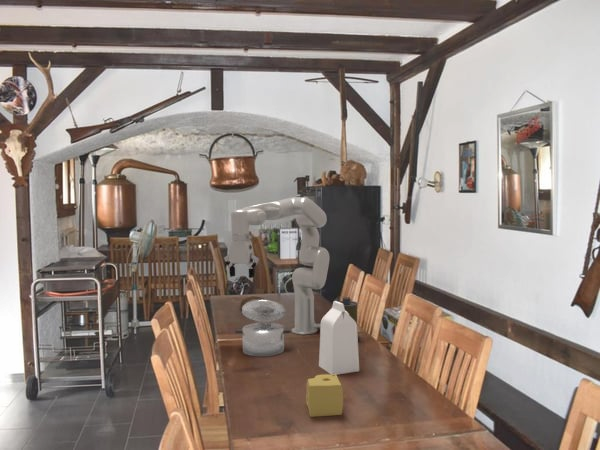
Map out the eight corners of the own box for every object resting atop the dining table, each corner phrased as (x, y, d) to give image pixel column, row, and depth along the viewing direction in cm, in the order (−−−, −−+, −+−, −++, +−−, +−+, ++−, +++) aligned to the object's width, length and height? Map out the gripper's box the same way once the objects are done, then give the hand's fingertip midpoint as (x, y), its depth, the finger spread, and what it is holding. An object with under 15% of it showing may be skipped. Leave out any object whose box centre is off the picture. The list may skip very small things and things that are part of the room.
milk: (318, 365, 214) (318, 301, 212) (344, 362, 218) (344, 298, 217) (332, 375, 203) (332, 307, 201) (359, 370, 207) (359, 304, 206)
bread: (261, 305, 330) (261, 291, 329) (278, 318, 295) (278, 303, 295) (236, 307, 324) (235, 293, 324) (250, 321, 290) (250, 305, 290)
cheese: (305, 404, 176) (305, 374, 175) (338, 403, 176) (338, 373, 176) (309, 417, 165) (308, 386, 165) (343, 416, 166) (343, 384, 165)
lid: (286, 322, 244) (286, 316, 246) (283, 301, 229) (284, 295, 231) (244, 322, 245) (245, 316, 247) (239, 301, 229) (239, 295, 231)
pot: (292, 344, 244) (291, 322, 243) (289, 356, 226) (289, 333, 226) (239, 344, 245) (238, 322, 244) (233, 356, 227) (232, 333, 226)
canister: (356, 343, 244) (356, 300, 242) (333, 342, 246) (333, 299, 245) (358, 337, 254) (358, 295, 253) (337, 336, 256) (336, 294, 255)
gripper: (262, 237, 234) (263, 276, 235) (228, 236, 241) (230, 274, 243) (253, 239, 227) (254, 279, 228) (219, 238, 235) (220, 277, 236)
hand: (242, 276), depth 236 cm, fingers open, 9 cm apart
